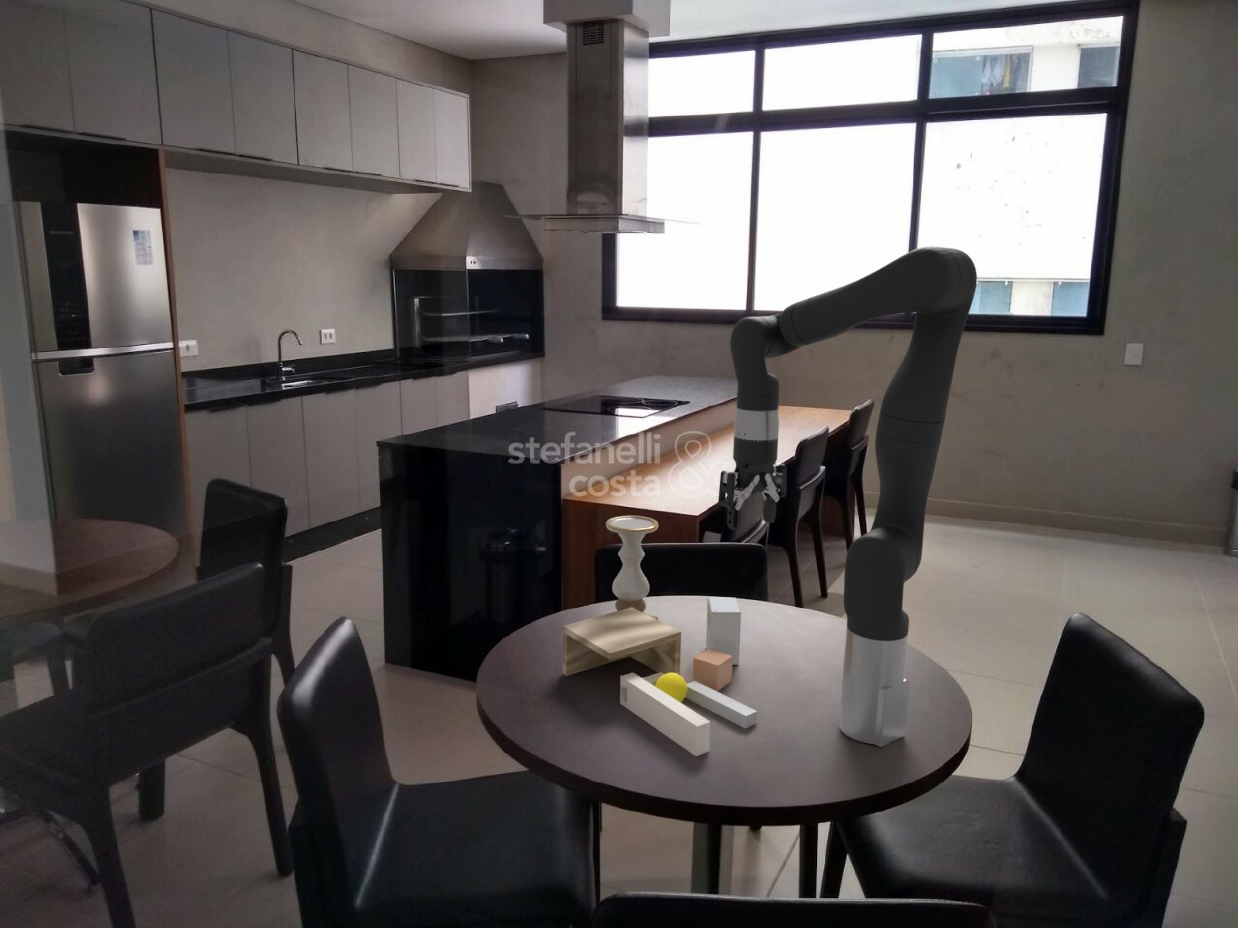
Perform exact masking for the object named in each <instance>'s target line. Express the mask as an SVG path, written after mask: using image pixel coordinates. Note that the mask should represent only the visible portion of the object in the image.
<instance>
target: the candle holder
mask: <svg viewBox="0 0 1238 928" xmlns="http://www.w3.org/2000/svg"><path fill="white" fill-rule="evenodd" d="M605 526H606V528H607V530H609V531H610V532H613V533H617V534H618V536H619V538H621V540H622V546H621V548H620V550H619V551H618V553H617V554H618V556H619V557H620V560H621V562H622V566H621V569H620V571H619V572H618V574H617V576H616V577H615V578H614V580H613V582H612V593H613V594H614V595H615V596H616V597H617V598H618V599H617V600H616V601H615V603H614V606H615V607H614V608H615V610H616V611H620V610H624V609H628V608H631V607H632V608H634V609H636V610H638V611H640V612H642V613H644V614H646V615H648V616H650V617H652V618H654V619H656V620H658V621H659V617H658V616H657V615H652V614H647V613H646V612H644V611H645V610H646V608H647V603H646V601H645V600H644V599H645V597H647V595H648V594H649V592H650V584H649V580H648V578H647V577H646V576H645V574H644V573H643V571H642V568H641V562H642V560H643V558H644V557H645V554H646V553H645V552H644V550H643V548H642V546H641V544H642V540H643V538H644V537H645V536H646V534H650V533H653V532H655V531H657V530H658V528H659V522H658V521H657V520H656V519H654V518H651V517H647V516H641V515H620V516H615V517H611V518H609V519H608V520H607V521H606V522H605ZM616 611H614V612H616Z"/></svg>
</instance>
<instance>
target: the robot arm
mask: <svg viewBox="0 0 1238 928" xmlns="http://www.w3.org/2000/svg"><path fill="white" fill-rule="evenodd" d="M977 283H978V274H977V268H976V265H975V263H974V261H973V259H972V258H971V257H970V255H968V254H967V253H966V252H964V251H963V250H960V249H957V248H952V247H944V246H943V247H942V246H931V245H930V246H929V245H928V246H921V247H917V248H915V249H912V250H911V251H909V252H906V253H905V254H903V255H901V256H899V257H897V258H896V259H894V260H893V261H891V262H889V263H888V264H886V265H884V266H882V267H881V268H878V269H877V270H875V271H873V272H870V274H868V275H865V276H863V277H862V278H859V279H858V280H855V281H853V282H850V283H848V284H845V285H843V286H840V287H838V288H834V289H832V290H829V291H825V292H822V293H820V294H817V295H815V296H811V297H809V298H805V299H802V300H800V301H797V302H794V303H793V304H790V305H789V306H787V307H785V308H784V310H783V311H782V312H780V313H778V314H773V315H766V316H765V315H764V316H747V317H743V318H741V319H739V320H738V321H737V322H736V323H735V325H734V327H733V329H732V332H731V334H730V341H729V343H730V344H729V347H730V354H731V359H732V363H733V369H734V373H735V377H736V381H737V392H736V411H735V416H734V428H733V445H732V446H733V448H732V451H733V453H732V459H733V460H734V464H735V469H734V471H728V470H721V472H720V475H719V478H720V480H719V487H718V500H717V501H718V505H720V506H723V507H726V509H727V513H726V515H727V516H726V520H727V521H726V525H727V527H728V529H730V530H731V531H739V530H740V529H741V516H742V515H741V513H742V512H741V510H742V509H741V508H742V505H743V503H744V502H745V500H747V499H748V498H749V497H750V496H751V495H754V494H756V493H761V494H762V496H763V498H764V500H763V505H762V507H763V508H762V509H763V510H762V511H763V512H762V520H763V522H766V523H769V524H772V523H774V522H775V519H776V516H777V503H778V502H779V500H780V499H781V498H785V497H786V496H787V480H788V479H787V478H788V477H787V473H788V472H787V471H788V468H787V465H786V464H785V463H781V462H777V461H778V450H779V449H778V448H779V447H778V446H779V432H780V429H779V428H780V426H779V425H780V419H779V416H780V415H779V402H780V381H779V378H778V376H776V375H775V374H774V373H773V374H772V373H770V372H768V370H767V364H766V359H772V358H777V357H781V356H784V355H787V354H789V353H792V352H793V351H796V350H798V349H800V348H802V347H805V346H809V345H811V344H816V343H819V342H822V341H825V340H828V339H832V338H835V337H838V336H840V335H842V334H845V333H846V332H848V331H850V330H852V329H854V328H855V327H857V326H859V325H861V324H863V323H865V322H868V321H871V320H874V319H877V318H881V317H885V316H892V315H894V316H895V315H901V314H909V313H910V314H911V313H915V317H914V324H913V329H912V330H913V331H912V335H911V340H910V342H909V344H908V345H909V346H908V348H907V349H906V353H905V355H904V356H903V358H902V360H901V362H900V364H899V366H898V368H897V369H896V371H895V373H894V374H893V376H892V378H891V380H890V381H889V384H888V385H887V388H886V390H885V393H884V395H883V398H882V400H881V405H880V408H879V415H878V420H877V421H878V422H877V427H876V432H875V441H874V443H875V444H874V446H875V447H874V450H875V458H876V459H875V460H876V467H877V471H878V478H879V494H878V495H879V497H878V503H877V507H876V510H875V511H876V512H875V516H874V519H873V522H872V526H871V528H870V531H868V532H866V533H865V534H863V535H861V536H858V537H857V538H856V539H855V540H854V541H853V542H852V543H851V544H850V545H849V548H848V550H847V553H846V558H845V564H844V578H843V581H844V582H843V583H844V584H843V608H844V611H845V615H846V629H845V630H846V632H845V633H846V634H845V645H844V646H845V647H844V659H843V669H842V670H843V672H842V684H841V697H840V711H839V713H840V714H839V729H840V731H841V732H842V733H843V734H844V735H845V736H847V737H848V738H851V739H853V740H855V741H856V742H857V741H858V742H862V743H866V744H871V745H875V746H877V747H880V748H882V747H884V746H887V745H889V744H891V743H893V742H894V741H897V740H899V739H901V738H903V737H904V736H905V733H906V723H907V711H908V701H909V700H908V699H909V688H910V681H909V679H907V678H905V671H906V670H905V668H906V659H907V649H908V648H907V647H908V636H909V635H908V634H909V627H910V618H909V616H908V613H906V611H904V609H903V606H904V605H903V601H904V588H905V585H904V584H905V583H906V582H907V581H909V580H910V579H911V578H912V577H914V575H915V574H916V573H917V571H918V569H919V567H920V565H921V562H922V556H923V555H922V554H923V545H924V532H925V531H924V530H925V521H926V520H925V519H926V518H925V517H926V508H927V502H928V497H929V493H930V489H931V485H932V481H933V476H934V473H935V468H936V463H937V459H938V458H937V457H938V453H939V449H940V446H941V442H942V436H943V432H944V426H945V420H946V415H947V410H948V409H947V408H948V403H949V397H950V392H951V388H952V383H953V377H954V373H955V372H954V371H955V367H956V361H957V355H958V351H959V347H960V343H961V340H962V337H963V333H964V329H965V327H966V323H967V321H968V316H969V313H970V310H971V308H972V304H973V301H974V297H975V294H976V289H977Z"/></svg>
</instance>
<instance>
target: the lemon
mask: <svg viewBox="0 0 1238 928" xmlns="http://www.w3.org/2000/svg"><path fill="white" fill-rule="evenodd" d="M687 684H688V682H686V681H685V679H684V676H681V674H680V675H678V674H677V673H667V674H663V675H662V676H661V677H660V678H659V679H657V681H656V684H655V687H657V688H658V689H660V690H661V691H663V692H664V693H666V694H668V695H669V696H671V697H672V698H674V699H675V700H677V701H679V702H680V703H682V701H683V700H684V699H686V698H685V696H686V692H687Z"/></svg>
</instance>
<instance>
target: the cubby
mask: <svg viewBox="0 0 1238 928" xmlns="http://www.w3.org/2000/svg"><path fill="white" fill-rule="evenodd" d="M644 613H645V612H644ZM644 613H642V612H640V611H638V610H636V609H634V608H632V607H631V608H628V609H624V610H620V611H617V610H616V612H615V611H613V612H609V613H605V614H602V615H598V616H595V617H590V618H587V619H583V620H580V621H576V622H573V623H569V624H565V625H562V674H563V675H564V676H566V677H568V676H571V675H574V674H577V673H580V672H584V671H587V670H590V669H593V668H597V667H600V666H603V665H606V664H610V663H613V662H616V661H619V660H623V659H625V658H629V657H630V658H632V659H634V660H635V661H637V662H639V663H641V664H643V665H644V666H647V668H650V669H652V670H653V671H655V672H657V673H660V672H662V673H663V674H667V673H677V674H678V675H680V676H681V651H682V650H681V647H682V631H680V630H678V629H676V628H674V627H672V626H670V625H668V624H666V623H664V622H662V621H660V620H659V619H658V620H656V619H654V618H652V617H650V616H648V615H649V614H647V613H646V614H647V615H646V614H644Z"/></svg>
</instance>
